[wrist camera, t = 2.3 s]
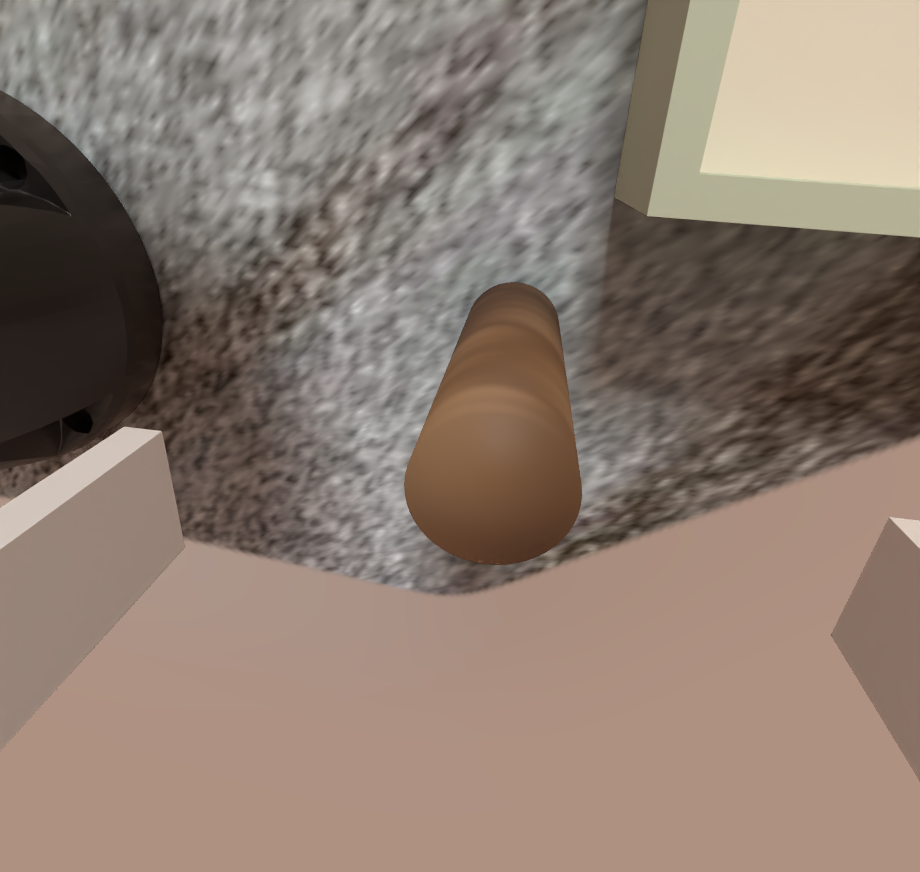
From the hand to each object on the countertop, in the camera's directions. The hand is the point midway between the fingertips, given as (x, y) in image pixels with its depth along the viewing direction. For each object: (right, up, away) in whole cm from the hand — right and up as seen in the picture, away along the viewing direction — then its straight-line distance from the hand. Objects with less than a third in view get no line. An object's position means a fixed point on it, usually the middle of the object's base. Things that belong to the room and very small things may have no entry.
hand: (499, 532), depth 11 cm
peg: (+1, +6, +11) cm, 13 cm away
